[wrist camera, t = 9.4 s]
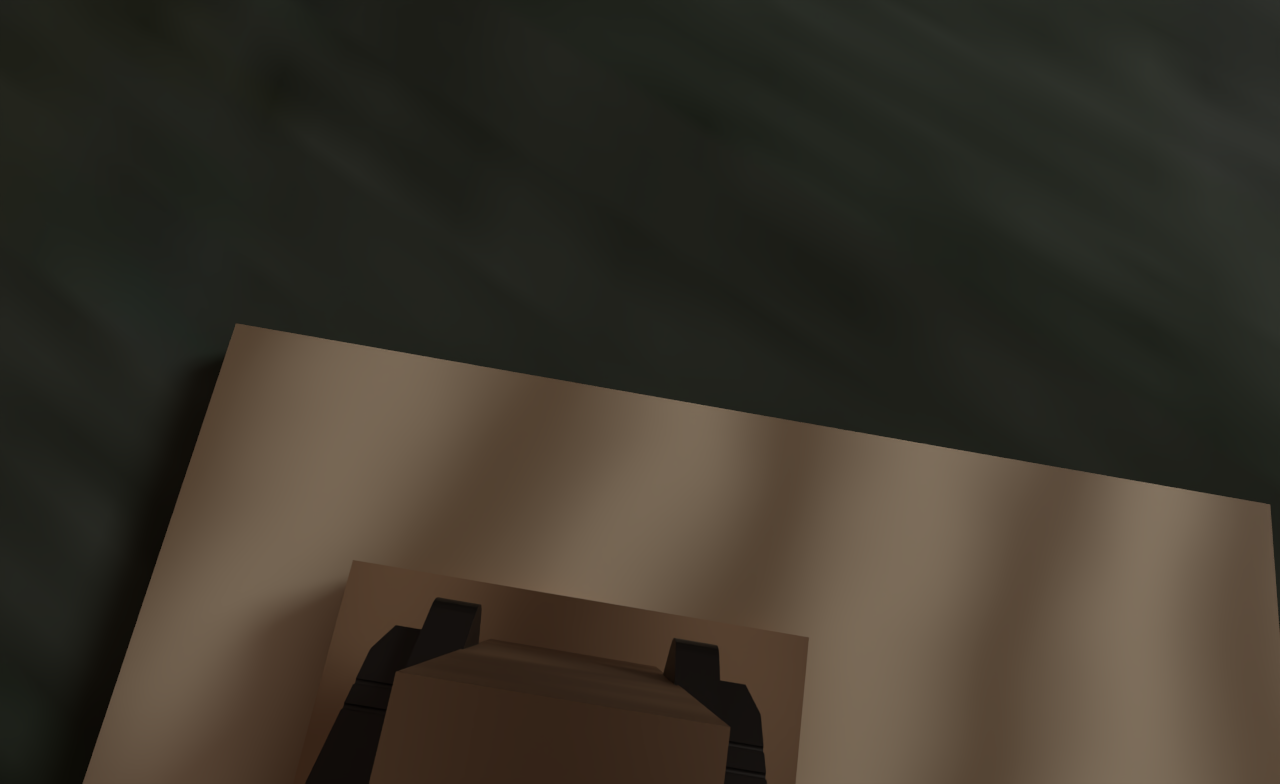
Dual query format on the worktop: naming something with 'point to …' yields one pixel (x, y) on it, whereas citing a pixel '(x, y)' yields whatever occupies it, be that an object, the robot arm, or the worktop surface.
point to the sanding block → (552, 689)
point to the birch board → (703, 573)
